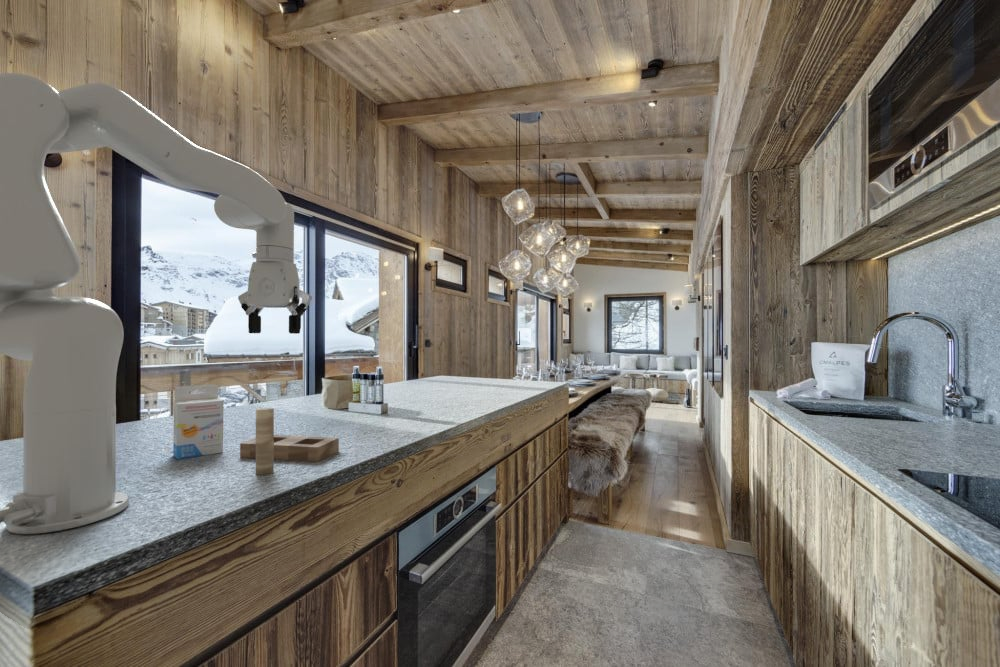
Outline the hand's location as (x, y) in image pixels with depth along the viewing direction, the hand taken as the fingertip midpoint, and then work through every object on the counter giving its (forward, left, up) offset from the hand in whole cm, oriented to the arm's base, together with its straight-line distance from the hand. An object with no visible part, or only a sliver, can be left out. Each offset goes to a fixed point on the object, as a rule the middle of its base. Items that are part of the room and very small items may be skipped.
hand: (274, 333), depth 98 cm
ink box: (-5, +14, -27) cm, 31 cm away
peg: (-14, -9, -26) cm, 31 cm away
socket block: (-2, -6, -26) cm, 27 cm away
